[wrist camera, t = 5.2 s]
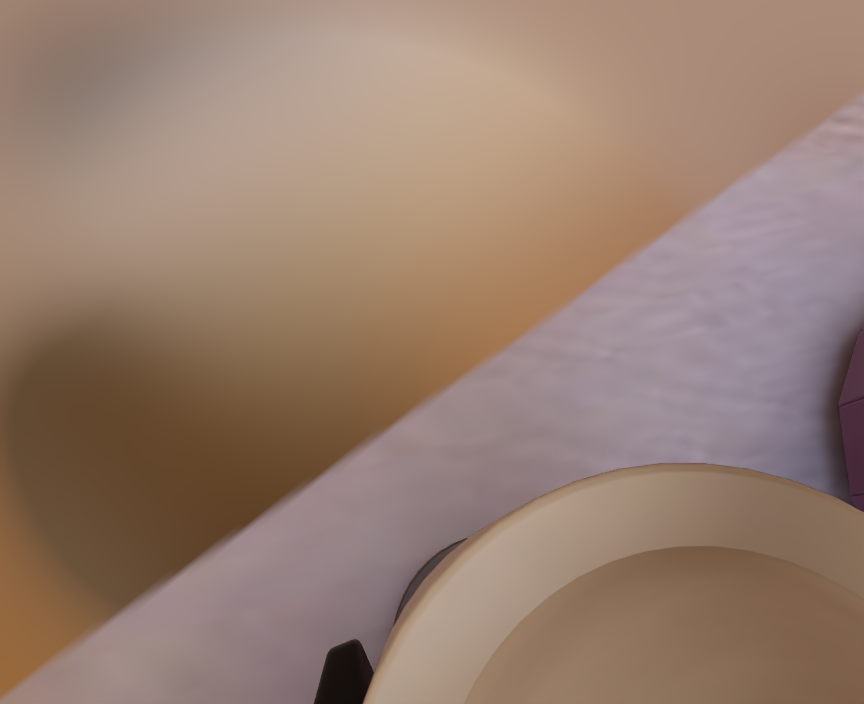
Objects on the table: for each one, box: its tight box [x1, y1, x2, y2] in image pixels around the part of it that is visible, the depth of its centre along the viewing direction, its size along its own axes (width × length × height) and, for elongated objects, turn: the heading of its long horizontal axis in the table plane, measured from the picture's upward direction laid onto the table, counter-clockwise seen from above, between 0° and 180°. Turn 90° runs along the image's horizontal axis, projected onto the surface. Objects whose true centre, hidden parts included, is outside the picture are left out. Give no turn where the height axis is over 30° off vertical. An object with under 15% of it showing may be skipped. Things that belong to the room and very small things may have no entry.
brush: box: [363, 463, 864, 704], centre depth 9 cm, size 5×5×13 cm
